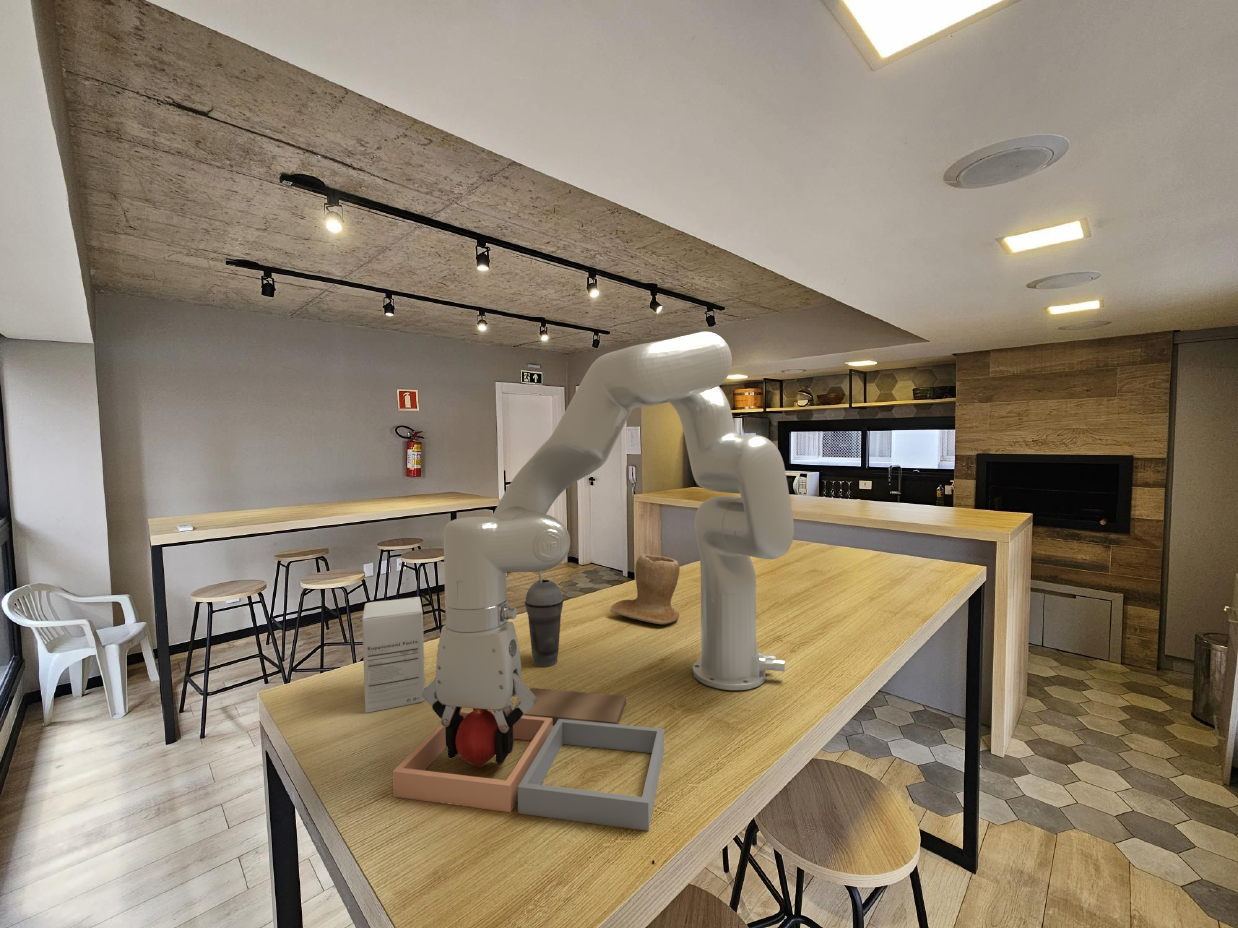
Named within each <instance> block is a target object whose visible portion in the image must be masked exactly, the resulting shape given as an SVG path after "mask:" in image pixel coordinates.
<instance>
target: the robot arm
mask: <svg viewBox="0 0 1238 928" xmlns="http://www.w3.org/2000/svg"><path fill="white" fill-rule="evenodd" d="M732 357H733V356H732V351H731V349H730V347H729V344H728V343H727V342H726V340H725V339H724V338H723V337H722V336H720V335H718V334H717V333H715V332H712V331H699V332H694V333H691V334H686V335H681V336H677V337H672V338H668V339H663V340H656V341H653V342H652V341H651V342H646V343H640V344H636V345H631V346H629V347H625V348H622V349H618V350H615V351H611V352H608V353H605V354H603V355H601V356H598V357H597V358H596V359H595V360H594V361H593V362H592V364H591V365H590V367H589V368H588V370H587V371H586V373H585V375H584V377H583V378H582V380H581V382H580V383H579V385H578V388H577V389H576V391H575V393H574V395H573V396H572V399H571V400H570V402H569V404H568V406H567V407H566V410H565V411H564V413H563V415H562V416H561V419H560V420H559V422H558V423H557V425H556V428H555V429H554V430H553V432H552V433H551V436H550V437H549V438H548V439H547V440H546V441H545V442H544V443H543V444H542V445H541V446H540V447H539V448H538V449H537V451H536V452H535V453H534V454H533V456H531V457H530V458H529V460H528V461H527V462H526V463H524V465H523V466H522V467H521V469H520V470H519V471H518V472H517V473H516V475H515V476H514V477H513V478H512V480H511V482H510V483H509V485H508V487H507V488H506V490H505V492H504V493H503V496H502V497H501V499H500V501H499V502H498V504H497V506H496V508H495V510H494V512H493V514H492V516H468V517H461V518H456V519H452V520H450V521H449V522H447V524H446V525H445V527H444V529H443V563H444V565H443V568H444V570H443V571H444V603H445V604H444V605H445V607H444V608H445V609H444V610H445V611H444V612H445V624H444V625H443V626H442V628H441V630H440V634H439V635H440V636H439V639H438V644H437V653H436V662H435V663H436V665H435V678H434V679H433V680H432V681H431V682H430V683H428V685H427V686H426V687H425V690H424V691H423V692H422V697H423V698H424V699H425V701H426V702H427V703H428V704H429V706H431V708H432V711H433V712H434V713H435V714H436V716H438V718H439V719H441V720H440V724H442V726H444V727H445V729H446V747H445V748H447V758H448V759H454V758H455V757H457V755H459V754H458V751H457V749H456V744H455V740H456V734H457V730H458V727H459V725H460V723H461V722H462V720H463V719H464V718H463V716H461V715H460V712H461V710H463V709H462V708H465V709H473V708H475V709H486V710H489V711H492V712H493V713H494V716H495V719H496V721H497V724H498V727H499V729H498V731H497V732H496V734H495V748H496V755H495V763H496V764H497V765H503V763H504V761H505V760H506V759H507V757H508V755H510V754H512V751H513V749H514V739H513V725H514V724H515V723H516V722H517V721H518V720H519V719H520V718H521V717H522V716H523V715H524V714H525V713H527V712H528V711H529V710H530V709H531V708H532V707H533V706H534V704H535V703H536V702H537V698H536V696H535V695H534V694H533V693H532V692H531V691H530V688H529V687H528V686H527V685H526V683H524V681H523V672H522V662H521V654H520V647H519V646H520V645H519V641H518V636H517V633H516V628H515V624H514V622H513V621H509V620H515V619H516V618H517V615H518V609H517V608H516V607H511V606H509V600H508V598H507V597H508V595H507V591H508V590H507V574H508V573H538V572H541V573H542V572H546V571H550V570H552V569H554V568H556V567H557V566H559V565H560V564H561V563H563V561H564V560H565V559H566V557H567V556H568V553H569V551H570V547H571V538H570V537H571V536H570V534H569V531H568V529H567V527H566V526H565V525H564V524H563V522H562V521H560V520H559V519H557V518H556V517H553V516H552V515H549V514H547V513H548V512H549V510H550V508H551V507H552V505H553V504H554V503H555V501H556V500H557V499H558V497H559V496H560V495H562V493H563V492H564V491H565V490H567V489H568V488H569V487H570V486H571V485H573V484H574V483H577V482H578V481H580V480H582V479H584V478H586V477H587V476H589V475H591V474H592V473H594V472H595V471H597V470H598V469H600V468H601V467H602V466H603V465H605V463H606V462H607V461H608V458H609V457H610V454H611V452H612V450H613V448H614V446H615V444H616V442H617V440H618V438H619V436H620V434H621V433H622V431H623V428H624V427H625V424H626V422H627V421H628V419H629V417H630V415H631V413H632V411H633V410H634V409H636V408H645V407H653V406H657V405H662V404H666V403H669V404H670V405H671V406H672V407H673V409H674V410H675V411H676V414H677V415H678V417H679V420H680V423H681V425H682V430H683V435H684V439H685V446H686V449H687V454H688V459H689V464H690V468H691V472H692V476H693V480H694V481H695V483H696V484H697V485H698V486H699V487H700V488H702V489H703V490H705V491H706V490H707V491H711V492H717V493H718V492H719V493H728V494H729V493H730V494H737V495H738V494H739V495H740V496H734V495H733V496H731V495H718V496H717V495H716V496H712V497H709V498H708V499H706V500H704V501H703V502H702V503H701V504H700V505H699V506H698V509H697V510H696V512H695V516H694V532H695V538H696V543H697V547H698V553H699V563H700V630H701V631H700V637H701V638H700V645H701V646H700V649H701V650H700V651H701V652H700V653H701V655H700V658H698V659H697V660H696V661H695V662H694V663H693V664H692V673H693V677H694V678H695V679H696V680H698V682H701V683H702V684H703V685H706V686H708V687H710V688H711V687H712V688H715V689H718V690H719V689H720V690H725V691H726V690H727V691H745V690H746V691H747V690H751V689H754V688H758V687H759V686H762V684H763V683H764V682H765V681H766V677H767V676H766V675H767V674H766V673H767V672H766V671H775V672H785V670H786V669H785V668H786V666H785V659H782V658H781V659H780V658H776V655H775V654H762V652H759V648H758V645H757V576H756V570H755V567H754V564H753V561H752V558H757V559H762V560H775V559H778V558H781V557H783V556H785V555H786V554H787V552H788V551H789V550H790V548H791V546H792V544H793V540H794V535H795V531H794V530H795V526H794V525H795V523H794V516H793V510H792V509H793V508H792V504H791V498H790V492H789V491H790V490H789V485H788V479H787V475H786V474H787V473H786V468H785V463H784V460H783V457H782V455H781V452H780V450H779V449H778V447H777V446H776V445H775V443H774V442H772V441H771V440H770V439H769V438H767V437H765V436H762V435H758V434H743V435H742V434H740V435H739V434H738V432H737V430H736V426H735V422H734V421H735V420H734V418H733V413H732V409H731V406H730V403H729V402H730V401H729V400H728V397H727V396H726V394H725V393H724V391H723V389H722V388H721V387H720V386H721V385H722V384H723V383H724V382H725V381H726V379H727V378H728V377H729V374H730V372H731V369H732V366H733V365H732V363H733V359H732ZM515 696H516V697H517V699H518V700H519V701H520V702H521V704H519V705H518V706H517V707H516V708H515V707H514V705H513V703H512V700H511V699H512V697H515ZM514 708H515V709H514Z"/></svg>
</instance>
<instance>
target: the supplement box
mask: <svg viewBox="0 0 1238 928" xmlns="http://www.w3.org/2000/svg"><path fill="white" fill-rule="evenodd" d="M423 613H424V612H423V607H422V602H421V597H420V596H414V597H407V598H406V597H405V598H399V599H398V598H397V599H391V600H379V601H371V602H367V603H365V604H364V607H363V614H362V617H361V618H362V620H361V621H362V626H361V627H362V651H363V652H362V655H363V656H362V657H363V658H362V659H363V684H364V685H363V686H364V687H363V688H364V689H363V690H364V707H365V709H364V712H365V714H369V713H372V712H378V711H384V710H388V709H392V708H393V709H394V708H398V707H402V706H403V707H404V706H409V705H413V704H418V703H424V702H425V701H426V700H425V699H424V698H423V697H422V692H423V691H424V690H425V689H426V687H425V686H426V684H425V650H424V649H425V648H424V647H425V645H424V642H425V641H424V616H423V615H424V614H423Z"/></svg>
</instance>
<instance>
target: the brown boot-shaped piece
mask: <svg viewBox="0 0 1238 928" xmlns="http://www.w3.org/2000/svg"><path fill="white" fill-rule="evenodd" d="M680 571H681V569H680V563H679V561H678V560H676V559H674V558H671V557H666V556H660V555H655V554H654V555H652V554H641V555H640V556H639V557H638V558H637V560H636V562H635V585H636V590H637V591H636V593H637V594H636V595H637V597H636V598H635V599H622V600H619V601H617V602H615V603H614V604H613V605H611V607H610V610H609V611H610V612H611V613H614V614H616V615H620V616H624V617H626V618H629V619H633V620H636V621H637V620H638V621H642V622H646V623H651V624H656V625H667V624H671V623H673V622H675V621H677V620H678V619H679V618H680V613H679V612H678V611H677V610H675V608H673V607H672V599H673V596H674V592H675V590H676V588H677V585H678V581H679V577H680Z"/></svg>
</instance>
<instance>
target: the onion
mask: <svg viewBox="0 0 1238 928" xmlns="http://www.w3.org/2000/svg"><path fill="white" fill-rule="evenodd" d="M498 729H499V727H498V724H497V721H496V719H495V716H494V714H493V713H491V710H486V709H475V708H472V712H471V713H469V714H468V715H467V716H466V717H465V718H464V719H463V720H462V722H461V723H460V725H459V727H458V730H457V734H456V740H455V744H456V749H457V751H458V754H457V755H459V757H460V759H463V760H464V761H465V762H467V763H468V764H470V765H473V766H474V767H476V768H481V767H483V766H484V765H486V764H487V763H488V762H490V760H492V759H493V758H494V757H496V748H495V734H496V732H497V731H498Z"/></svg>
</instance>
